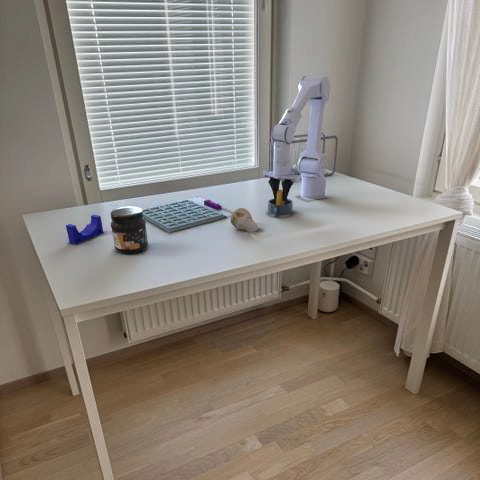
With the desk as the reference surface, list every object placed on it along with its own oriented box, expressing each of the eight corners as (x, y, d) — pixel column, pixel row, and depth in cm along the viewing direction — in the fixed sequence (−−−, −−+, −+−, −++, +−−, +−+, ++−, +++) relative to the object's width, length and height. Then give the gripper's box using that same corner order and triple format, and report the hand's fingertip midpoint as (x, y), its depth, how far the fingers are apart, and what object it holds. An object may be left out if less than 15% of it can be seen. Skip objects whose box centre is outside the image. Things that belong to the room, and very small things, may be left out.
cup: (271, 208, 176) (271, 197, 173) (294, 210, 173) (295, 199, 171) (263, 218, 166) (263, 206, 164) (287, 221, 164) (288, 208, 161)
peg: (281, 209, 172) (282, 189, 168) (285, 211, 170) (286, 191, 166) (274, 210, 171) (275, 190, 167) (278, 212, 169) (279, 192, 165)
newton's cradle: (321, 170, 224) (324, 131, 215) (335, 175, 217) (338, 135, 207) (269, 178, 213) (270, 138, 203) (281, 183, 205) (282, 142, 196)
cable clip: (94, 230, 158) (91, 213, 155) (103, 232, 156) (100, 215, 153) (66, 242, 150) (62, 224, 147) (75, 244, 148) (72, 226, 145)
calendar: (133, 212, 175) (132, 206, 173) (196, 197, 189) (196, 191, 188) (169, 232, 156) (168, 225, 155) (236, 214, 170) (236, 208, 169)
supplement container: (110, 255, 140) (104, 217, 134) (120, 241, 149) (114, 205, 143) (144, 255, 140) (139, 217, 133) (152, 242, 149) (147, 205, 142)
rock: (249, 238, 151) (235, 210, 148) (237, 241, 160) (224, 215, 157) (266, 228, 153) (253, 200, 151) (254, 232, 162) (241, 206, 160)
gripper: (258, 161, 161) (257, 199, 168) (295, 166, 155) (293, 205, 162) (267, 157, 166) (267, 194, 173) (304, 161, 160) (302, 200, 167)
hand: (280, 199), depth 168 cm, fingers closed on peg, 3 cm apart
